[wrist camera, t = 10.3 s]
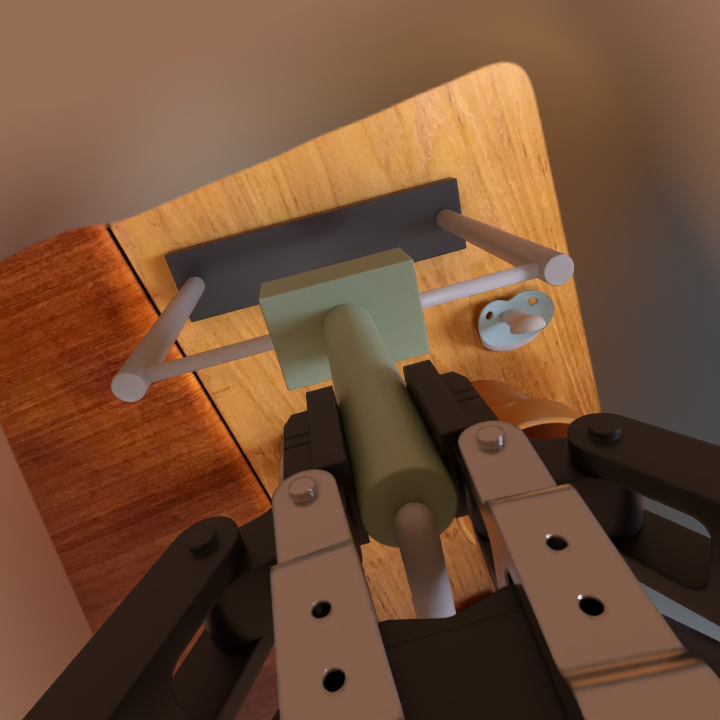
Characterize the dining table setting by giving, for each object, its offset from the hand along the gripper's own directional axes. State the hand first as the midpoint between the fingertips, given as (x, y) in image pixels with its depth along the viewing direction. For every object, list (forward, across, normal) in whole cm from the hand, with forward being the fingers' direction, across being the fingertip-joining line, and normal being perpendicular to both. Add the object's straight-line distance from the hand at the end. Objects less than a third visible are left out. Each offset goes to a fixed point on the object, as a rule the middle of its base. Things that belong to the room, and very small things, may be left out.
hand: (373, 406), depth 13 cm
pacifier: (+32, -16, +13) cm, 38 cm away
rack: (+32, 0, +2) cm, 32 cm away
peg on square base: (+10, 0, +2) cm, 10 cm away
